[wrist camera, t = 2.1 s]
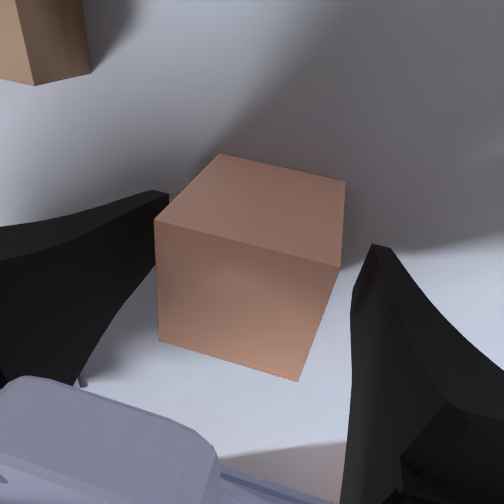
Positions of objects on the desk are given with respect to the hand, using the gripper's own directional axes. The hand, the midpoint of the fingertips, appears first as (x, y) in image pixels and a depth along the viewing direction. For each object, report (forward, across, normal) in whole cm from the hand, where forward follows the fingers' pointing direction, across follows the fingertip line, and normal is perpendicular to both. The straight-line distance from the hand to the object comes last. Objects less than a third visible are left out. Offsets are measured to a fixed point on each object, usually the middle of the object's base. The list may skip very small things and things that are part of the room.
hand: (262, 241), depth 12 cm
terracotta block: (+2, 0, 0) cm, 2 cm away
